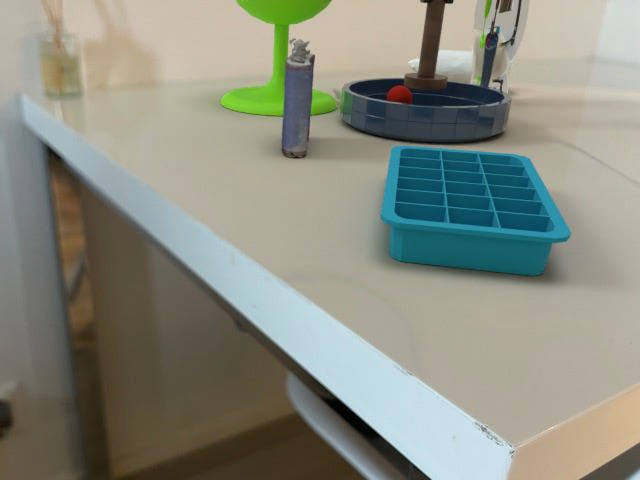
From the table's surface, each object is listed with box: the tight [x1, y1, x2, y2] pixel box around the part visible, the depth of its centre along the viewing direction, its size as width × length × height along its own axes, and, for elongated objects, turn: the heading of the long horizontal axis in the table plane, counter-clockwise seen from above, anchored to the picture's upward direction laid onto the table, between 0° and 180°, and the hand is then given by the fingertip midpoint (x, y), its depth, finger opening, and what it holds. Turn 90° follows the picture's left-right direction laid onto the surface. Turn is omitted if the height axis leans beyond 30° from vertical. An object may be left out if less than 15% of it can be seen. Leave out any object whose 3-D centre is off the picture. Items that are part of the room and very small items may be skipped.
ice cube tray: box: [380, 145, 572, 277], centre depth 50 cm, size 12×20×3 cm, turn 167°
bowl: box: [339, 77, 513, 144], centre depth 80 cm, size 20×20×4 cm
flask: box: [281, 37, 316, 159], centre depth 68 cm, size 9×3×11 cm, turn 173°
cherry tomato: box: [387, 86, 412, 104], centre depth 84 cm, size 3×3×3 cm
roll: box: [407, 49, 472, 83], centre depth 105 cm, size 6×12×6 cm, turn 74°
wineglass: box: [220, 0, 338, 117], centre depth 87 cm, size 16×16×18 cm
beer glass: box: [469, 0, 531, 94], centre depth 92 cm, size 7×7×15 cm
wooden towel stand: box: [403, 0, 448, 90], centre depth 76 cm, size 5×5×14 cm
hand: (436, 2), depth 75 cm, fingers closed on wooden towel stand
